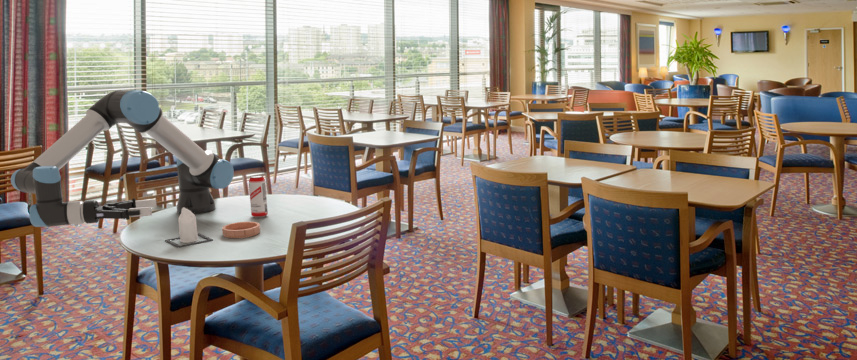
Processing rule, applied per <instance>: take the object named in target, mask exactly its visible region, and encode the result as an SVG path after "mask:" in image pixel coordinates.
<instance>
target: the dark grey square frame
mask: <svg viewBox="0 0 857 360" xmlns="http://www.w3.org/2000/svg"><path fill="white" fill-rule="evenodd" d="M197 235H198V237H201V238H203V239H205V240H198V241H195V242H190V243H183V244H178V243H176V242H174V241H176V240H175V239H177V240H180V236H177V237H172V238H169V239H165V240H164V241H165V242H166V241H167V242H166V243H168V244H170V245H172V246H174V247H176V248H178V247H179V248H184V247H187V246H194V245H197V244H198V245H199V244H202V243H207V242H212V241H214V239H213V238H211V237H208V236H206V235H205V234H202V233H200V232H199V233H198V232H197ZM170 240H172V241H170Z"/></svg>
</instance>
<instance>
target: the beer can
mask: <svg viewBox="0 0 857 360" xmlns="http://www.w3.org/2000/svg"><path fill="white" fill-rule="evenodd" d="M248 187H249V201H250V213H251V216H252V217H253V218H255V219H261V218H265V217H267V215H268V212H269V210H268V203H267V202H268V200H267V198H268V197H267V188H266V187H267V186H266V179H265V177H264V175H261V174H257V175H256V174H255V175H251V176H249V179H248Z"/></svg>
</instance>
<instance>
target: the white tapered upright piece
mask: <svg viewBox="0 0 857 360" xmlns="http://www.w3.org/2000/svg"><path fill="white" fill-rule="evenodd" d="M179 214H180V215H179V216H178V218H177V219H178V221H177V222H178V232H179V237H180V239H179V240H180V243H183V244H189V243H194V242H198V241H199V236H198V235H197V233H198V229H197V228H198V227H197V218H196V215H195V214H193V213H192V212H191V211H190V210H188V209H186V208H185V207H183V208H182V211H181V213H179Z"/></svg>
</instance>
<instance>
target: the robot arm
mask: <svg viewBox="0 0 857 360" xmlns="http://www.w3.org/2000/svg"><path fill="white" fill-rule="evenodd" d="M159 103H160V102H159V101H158V100H157V98H156V97H155V96H154V95H153V94H151V92H147V91H145V90H140V89H133V90H121V89H119V90H113V91H111V92H109V93H107V94H105V95H104V96H102V97H101V98H100V99H98V100H97V101H96V102H95V103H93V104H92V105H91V106H90V107H89V108H88V109H86V111H85V113H86V114H85V115H84V116H83V117H82V118H80V120H79V121H77V123H75V124H74V125H73V126H72V127H70V129H69V130H67V131H66V132H65V133H64V134H63V135H62V136H61V137H60V138H58V139H57V140H56V141H55V142H54V143H52V145H51V146H49V147H48V148H47V149H46V150H45V151H43V152H42V153H41V154H40V155H38V157H37V158H35V159H34V160H33V161H32V162H31V163H30V164H29V165H27V166H26V167H25V168H21V169H20V168H19V169H17V170H15V171H14V172H12V174H11V177H10V183H11V186H12V187H13V188H14V189H15V190H16V191H19V192H22V193H24V194H25V193H28V194H34V195H35V201H36V203H35V204H32V205H30V207H29V211H28V212H29V221H30V223H31V225H32V226H33V227H35V228H42V227H43V228H50V227H58V226H69V225H70V226H71V225H74V226H75V227H77V226H78V225H82V224H83V225H84V224H97V223H98V222H100V220H101V219H105V220H106V219H107V220H108V219H111V220H114V219H115V220H117V219H118V220H126V221H127V220H130V218H134V217H135V218H137V217H147V216H149V217H150V216H153V211H152V209H153V208H157V205H158V204H157V199H156V198H155V199H154V198H153V199H152V198H151V199H141V200H136V198H135V197H134V198H132V199H129V200H122V201H117V202H116V201H115V202H107V203H103V205H99V202H98V200H97V199H91V200H84V201H83V200H74V201H64V197H63V187H62V175H61V173H60V170H61V169H62V168H63V167H64V166H66V164H67V163H69V162H70V161H71V160H73V158H74V157H75V156H76V155H78V154H79V153H80V152H81V151H82V150H83V149H84V148H85V147H86V146H88V145H89V144H90V143H91V142H92V141H93V140H94V139H96V137H97V136H99V134H101V133H102V132H103V131H104V132H105V131H109V130H110V129H111V128H112V127H114V126H116V125H118V124H127V125H129V126H130V127H131V128H133V129H134V130H135V131H136V132H138V133H139V134H145V133H146V134H147V135H148V136H149V137H151V138H152V139H153V140H154V141H156V143H158V144H160V145H161V146H162V147H163V148H164V149H166V150H167V151H168V152H170V153H171V154H172V155H173V156H174V157H175V158H176V170H177V171H176V172H177V180H178V189H179V190H178V191H179V195H178V199H177V205H176V212H177V213H178V212H179V213H178V214H181V211H182V208H183V207H185V208H186V209H188V210H190V211H191V212H192V213H193V214H194V215H195V214H203V213H207V212H211V211H213V210H214V211H215V209H216V202H215V199H214V197H213V195H212V194H211V190H210V189H211V188H212V189H214V190H219V189H221V190H222V189H226V188H227V187H228V186H230V185H231V183H232V182H233V179H234V175H235V172H234V171H235V170H234V166H233V164H232V163H231V162H230V161H228V160H226V159H224V158H223V159H221V158H219V157H218V156H217V155H216V154H215V153H213V152H212V151H211V150H204V149H203V148H202V147H200V146H199V145H198V144H197V143H196V142H195V141H193V140H192V139H191V138H190V137H189V136H188V135H186V134H185V133H184V132H183V131H182V130H181V129H180V128H178V127H177V126H176V125H174V124H173V123H172V121H170V120H169V119H168V118H166V116H164V114H163V113H164V112H163V109H162V107H160V105H159Z"/></svg>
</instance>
